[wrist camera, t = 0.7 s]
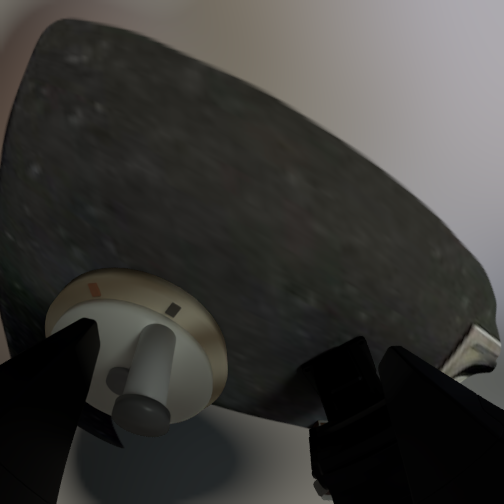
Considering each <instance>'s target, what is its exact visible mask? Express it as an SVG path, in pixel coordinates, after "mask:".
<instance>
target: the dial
mask: <svg viewBox="0 0 504 504" xmlns="http://www.w3.org/2000/svg"><path fill="white" fill-rule="evenodd" d="M81 318H89V319H94V320H95V321H96V322H97V325H98V332H99V337H100V350H99V354H98V358H97V361H96V365H95V369H94V373H93V377H92V381H91V385H90V389H89V392H88V395H87V398H86V402H87V403H89V404H90V405H92V406H93V407H95V408H97V409H98V410H100V411H102V412H104V413H106V414H109V415H111V416H112V418H113V420H114V421H115V422H116V424H117V425H119V426H120V427H121V428H123V429H125V430H126V431H129V432H131V433H133V434H137V435H140V436H146V437H158V436H162V435H165V434H166V433H167V432H168V431H169V426H170V424H173V423H178V422H181V421H184V420H187V419H189V418H192V417H193V416H195V415H197V414H198V413H200V412H201V411H202V410H203V409H204V408H205V407H206V405H207V404H208V403H209V400H210V398H211V395H212V391H213V372H212V367H211V363H210V361H209V358H208V356H207V354H206V352H205V351H204V349H203V348H202V346H201V345H200V344H199V343H198V341H197V340H196V339H195V338H194V337H193V336H192V335H191V334H190V333H189V332H188V331H186V330H185V329H184V328H183V327H181V326H180V325H179V324H177V323H176V322H174V321H173V320H171V319H170V318H168V317H166V316H164V315H162V314H161V313H159V312H157V311H154V310H152V309H150V308H147V307H145V306H142V305H139V304H136V303H132V302H128V301H123V300H117V299H92V300H86V301H83V302H80V303H77V304H75V305H73V306H72V307H70V308H69V309H68V310H66V311H65V312H64V313H63V315H62V316H61V317H60V319H59V320H58V321H57V323H56V324H55V326H54V328H53V330H52V332H51V335H52V334H54V333H56V332H58V331H59V330H61V329H63V328H65V327H66V326H68V325H70V324H72V323H74V322H75V321H77V320H79V319H81ZM51 335H50V336H51Z"/></svg>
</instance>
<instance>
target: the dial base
mask: <svg viewBox="0 0 504 504" xmlns="http://www.w3.org/2000/svg"><path fill="white" fill-rule="evenodd" d="M92 299H117V300H123V301H128V302H132V303H136V304H139V305H142V306H145V307H147V308H150V309H152V310H154V311H157V312H159V313H161V314H162V315H164V316H166V317H168V318H170V319H171V320H173V321H174V322H176V323H177V324H179V325H180V326H181V327H183V328H184V329H185V330H186V331H188V332H189V333H190V334H191V335H192V336H193V337H194V338H195V339H196V340H197V341H198V343H199V344H200V345H201V346H202V348H203V349H204V351H205V352H206V354H207V356H208V358H209V361H210V363H211V367H212V372H213V391H212V395H211V398H210V400H209V403H208V404H207V405H206V407H208V406H209V405H211V404H212V403H213V402H214V401H215V400H216V399H217V398H218V397H219V395H220V394H221V393H222V391H223V389H224V387H225V384H226V380H227V372H228V366H227V349H226V343H225V340H224V336H223V334H222V332H221V329H220V327H219V325H218V324H217V322H216V321H215V319H214V318H213V316H212V315H211V314H210V313H209V312H208V311H207V309H206V308H205V307H204V306H203V305H202V304H201V303H200V302H199V301H197V300H196V299H195V298H194V297H193V296H191V295H190V294H189V293H187V292H186V291H184V290H183V289H182V288H180V287H178V286H176V285H174V284H173V283H171V282H169V281H167V280H164V279H162V278H160V277H157V276H155V275H152V274H149V273H145V272H142V271H137V270H132V269H126V268H102V269H97V270H92V271H89V272H86V273H84V274H81V275H80V276H78V277H76V278H75V279H73V280H72V281H71V282H70V283H68V284H67V285H66V286H65V288H64V289H63V290H62V291H61V292H60V294H59V295H58V296H57V297H56V299H55V300H54V301H53V303H52V304H51V306H50V308H49V310H48V313H47V316H46V321H45V334H46V338H47V337H49V336H50V335H51V332H52V330H53V328H54V326H55V324H56V323H57V321H58V320H59V319H60V317H61V316H62V315H63V313H64V312H65V311H66V310H68V309H69V308H70V307H72V306H73V305H75V304H77V303H80V302H83V301H86V300H92ZM206 407H205V408H206ZM205 408H204V409H205Z"/></svg>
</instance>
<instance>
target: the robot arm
mask: <svg viewBox="0 0 504 504" xmlns="http://www.w3.org/2000/svg"><path fill="white" fill-rule="evenodd" d="M360 341H361V342H360ZM99 350H100V337H99V332H98V325H97V322H96V321H95V320H94V319H89V318H81V319H79V320H77V321H75V322H74V323H72V324H70V325H68V326H66V327H65V328H63V329H61V330H59V331H58V332H56V333H54V334H52V335H51V336H49V337H47V338H45V339H44V340H42V341H40V342H38V343H37V344H35V345H33V346H32V347H30V348H28V349H26V350H25V351H23V352H21V353H20V354H18V355H16V356H14V357H13V358H11V359H9V360H8V361H6V362H4V363H3V364H1V365H0V504H56V502H57V498H58V493H59V488H60V484H61V480H62V476H63V472H64V468H65V464H66V461H67V457H68V454H69V450H70V447H71V443H72V440H73V437H74V434H75V431H76V428H77V425H78V422H79V419H80V416H81V413H82V410H83V407H84V404H85V401H86V398H87V395H88V392H89V389H90V385H91V381H92V377H93V373H94V369H95V365H96V361H97V358H98V354H99ZM307 368H308V369H307ZM378 369H379V375H380V379H381V381H380V379H379V377H378V376H377V374H376V368H375V365H374V362H373V359H372V356H371V353H370V350H369V348H368V345H367V342H366V340H365V338H364V337H363V336H360V337H358V338H356V339H354V340H352V341H350V342H348V343H346V344H345V345H343V346H341V347H339V348H337V349H335V350H333V351H331V352H329V353H327V354H325V355H323V356H321V357H319V358H317V359H315V360H313V361H310V362H308V363H306V364H304V365H303V366H302V372H303V373H304V375H305V376H306V378H307V379H308V381H309V382H310V383H311V385H312V386H313V388H314V389H315V390H316V392H317V393H318V395H319V396H320V398H321V401H322V404H323V407H324V410H325V413H326V416H327V419H328V422H327V423H325V424H323V425H320V426H318V427H314V428H311V429H309V434H310V437H309V443H310V454H311V455H310V456H311V468H312V476H313V477H314V478H315V479H317V480H318V482H319V483H320V485H321V486H322V487H323V488H324V489H325V490H329V492H330V494H331V497H332V500H333V502H334V504H504V410H503V409H501V408H499V407H497V406H496V405H494V404H492V403H491V402H489V401H487V400H486V399H484V398H482V397H481V396H479V395H477V394H476V393H474V392H473V391H471V390H469V389H468V388H467V387H465V386H463V385H462V384H460V383H459V382H457V381H455V380H454V379H452V378H451V377H449V376H448V375H446V374H444V373H443V372H441V371H440V370H438V369H437V368H435V367H433V366H432V365H430V364H429V363H427V362H425V361H424V360H422V359H421V358H419V357H418V356H416V355H414V354H413V353H411V352H410V351H408V350H406V349H405V348H403V347H402V346H391V347H389V348H388V349H387V351H386V353H385V355H384V357H383V358H382V360H381V362H380V364H379V368H378Z"/></svg>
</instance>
